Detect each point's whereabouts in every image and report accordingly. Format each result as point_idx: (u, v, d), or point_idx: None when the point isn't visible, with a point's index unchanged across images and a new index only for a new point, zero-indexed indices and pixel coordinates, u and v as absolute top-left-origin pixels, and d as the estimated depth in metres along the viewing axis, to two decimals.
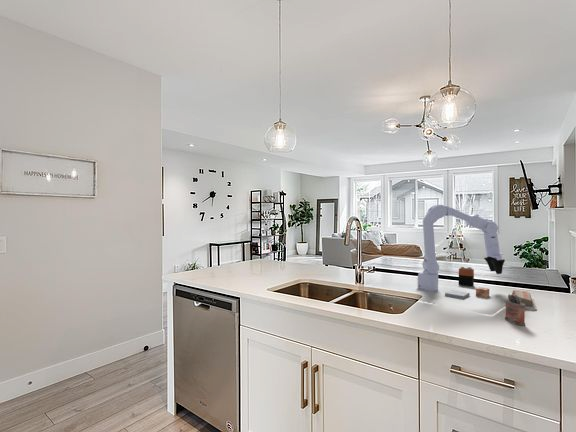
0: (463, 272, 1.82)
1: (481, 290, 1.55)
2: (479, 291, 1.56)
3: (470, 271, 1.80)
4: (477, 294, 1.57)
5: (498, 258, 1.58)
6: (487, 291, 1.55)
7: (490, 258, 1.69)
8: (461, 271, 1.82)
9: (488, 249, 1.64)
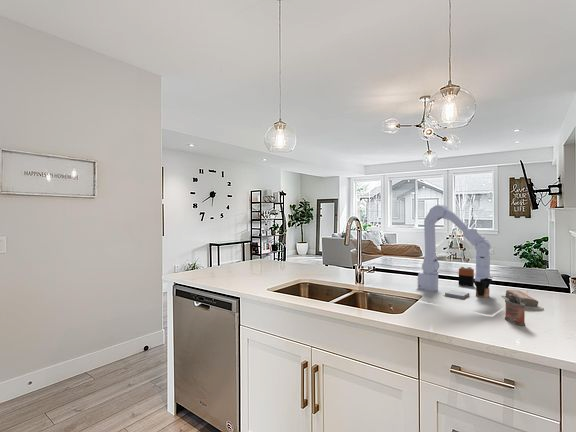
0: (463, 272, 1.82)
1: None
2: None
3: (470, 271, 1.80)
4: (477, 294, 1.57)
5: (476, 279, 1.52)
6: (487, 291, 1.55)
7: (483, 280, 1.59)
8: (461, 271, 1.82)
9: (476, 269, 1.58)
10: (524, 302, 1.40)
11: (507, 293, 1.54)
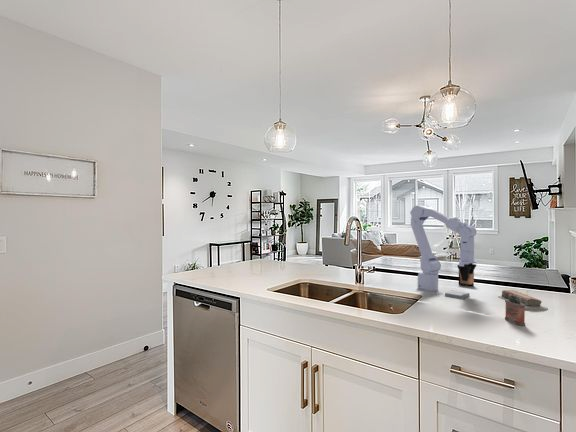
0: None
1: None
2: None
3: None
4: (461, 279, 1.57)
5: (460, 264, 1.52)
6: (471, 276, 1.55)
7: (467, 265, 1.59)
8: None
9: (460, 254, 1.57)
10: (529, 302, 1.39)
11: (504, 293, 1.53)
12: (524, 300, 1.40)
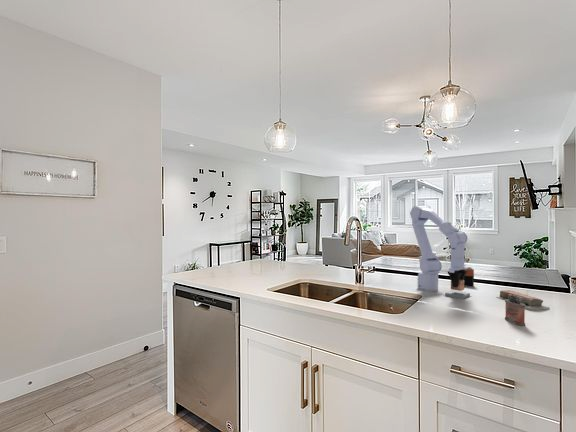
0: None
1: None
2: None
3: (470, 271, 1.80)
4: (452, 286, 1.56)
5: (450, 270, 1.52)
6: (462, 282, 1.55)
7: (458, 271, 1.59)
8: None
9: None
10: (533, 303, 1.39)
11: (503, 294, 1.52)
12: (527, 300, 1.40)
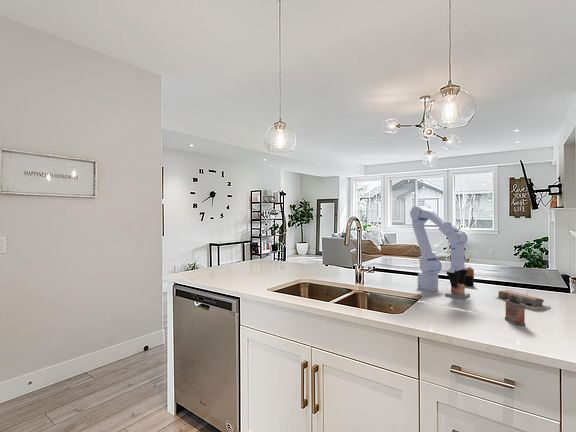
0: None
1: None
2: None
3: (470, 271, 1.80)
4: (452, 290, 1.56)
5: (450, 270, 1.52)
6: (462, 287, 1.55)
7: (459, 271, 1.60)
8: None
9: None
10: (536, 303, 1.39)
11: (502, 294, 1.52)
12: (530, 300, 1.40)
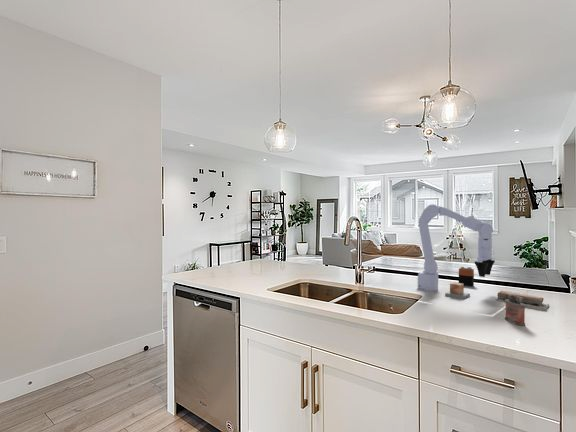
0: (463, 272, 1.82)
1: (455, 285, 1.56)
2: (453, 286, 1.56)
3: (470, 271, 1.80)
4: (451, 289, 1.57)
5: (478, 260, 1.57)
6: (461, 286, 1.55)
7: (486, 261, 1.65)
8: (461, 271, 1.82)
9: (478, 250, 1.62)
10: None
11: (502, 296, 1.49)
12: (537, 300, 1.40)
